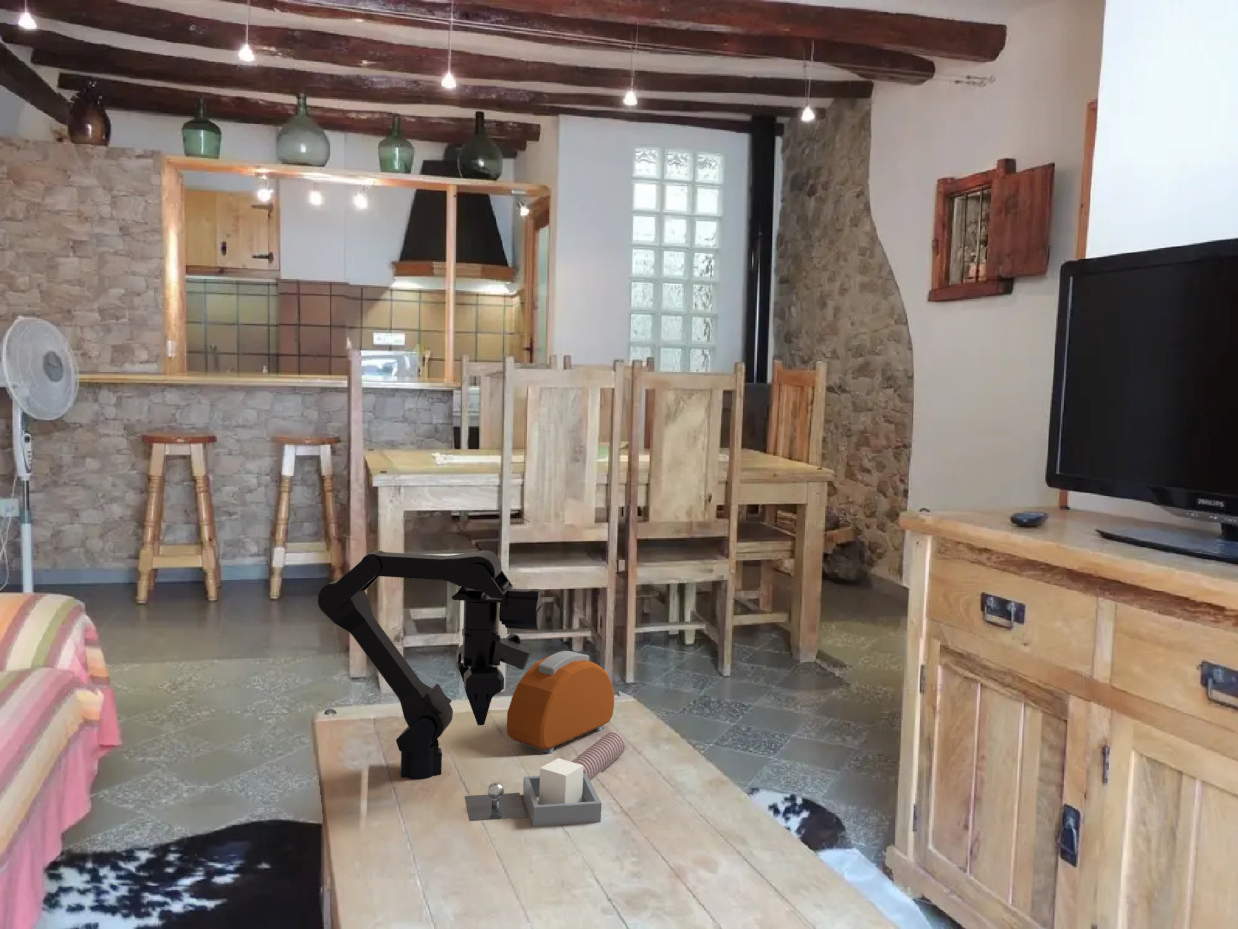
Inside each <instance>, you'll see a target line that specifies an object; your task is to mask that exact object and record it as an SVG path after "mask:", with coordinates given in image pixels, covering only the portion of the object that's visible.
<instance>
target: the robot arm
mask: <svg viewBox="0 0 1238 929" xmlns="http://www.w3.org/2000/svg"><path fill="white" fill-rule="evenodd" d="M379 577H384V578H385V577H386V578H387V577H389V578H403V579H419V580H434V581H435V580H436V581H437V580H438V581H444V582H448V583H450V584H453V585H455V586H458V587H460V588H459V589H458V591H457V592H455V594H453V595H452V596H451V600H453V601H463V626H462V627H463V628H461V636H462V644H461V645H460V646H459V647H458V648H457V649H456V662H457V663H456V664H457V667H458V671H459V673H460V677H461V679H462V682H463V689H464V691H465V694H466V697H467V699H468V702H469V706H470V708H471V710H472V713H473V716H474V718H475V721H476V724H477V726H484V725H485V723H486V720H487V717H488V714H489V709H490V706H491V703H492V699H493V697H495V696H496V695H497V694H499V693H501V692H502V691H503V690H504V689H505V677H504V675H503V671H501V670H500V669H499V668H498V667H497V666H501V663H503V664H506V665H510V666H512V667H513V666H514V667H515V668H516V669H518V670H522V671H524V670H525V668H526V666H527V663H528V660H529V657H530V655H531V651H530V649H529V648H528V646H526V645H525V643H521V638H520V635H518V634H516V633H509V635H507V636H506V637H503V638H501V635H500V634H499V631H498V619H499V622H500V623H501V625H504V627H505V629H516V630H517V629H519V630H535V631H540V629H541V627H542V622H543V620H542V619H543V610H544V609H543V607H544V605H542V604H543V603H542V596H541V589H540V588H529V589H528V588H527V589H526V588H525V589H523V588H514V586H513V584H512V583H511V581H510V579H509V578H508V577H507V575H506V573H505V572H504V571H503V569H502V563H501V560H500V558H499V556H498V555H497V554H496V553H495V552H494V551H490V550H478V551H468V552H463V553H457V554H451V555H439V554H438V555H437V554H424V553H423V554H419V553H402V552H389V551H388V552H386V551H383V550H374V551H372V552H369V553H368V554H366V555H364V556H363V558H361V560H360V561H359V562H358V563H357V564H356V565H355V566H353V567H352V568H351V569H350V570H349V571H347V572H346V573H345V574H343V576H342V577H340V578H337V579H336V580H334V581H332V582H330V583H328V584H325V585H324V586H323V587H322V588H321V589H320V591H319V593H318V595H317V596H318V597H317V607H318V608H319V609H320V611H321V612H322V613H323V614H324V615H325V616H326V617H327V618H328V619H329V621H331V622H332V623H333V624H335V625H336V626H338V627H339V628H341V629H343V630H344V631H346V632H347V633H349V634H350V635H351V636H352V637H353V639H354V640H355V641H356V642H357V644H358V646H359V647H360V648H361V650H362V651H363V652H364V654H365V655H366V657H367V658H368V659H369V661H370V662H371V663H372V664H373V666H374V667H375V669H376V670H377V671H378V672H379V674H380V675H381V677H382V678H383V679H384V680H385V682H386V683H387V685H388V686H389V688H390V689H391V690H392V691H393V693H394V694H395V696H396V697H397V698H398V701H399V703H400V706H401V710H402V715H403V719H404V720H405V723H406V725H407V727H405V729H404V730H403V731H402V732H401V734H399V736H398V737H397V738H396V739H395V743H396V744H397V748H398V751H399V752H400V778H402V779H403V778H406V779H408V780H414V781H415V780H426V779H429V778H432V777H437V776H441V775H442V765H443V753H442V748H441V747H440V744H439V738H440V737H441V736H442V735H443V733H444V731H446V729H447V728H448V727H449V726H450V725H451V723H452V720H453V716H454V715H453V714H454V710H453V707H452V705H451V703H452V699H450V698H449V697H448V696H447V695H446V694H445V693H444V691H443V689H442V687H441V686H440V684H439V683H436V684H434V685H433V687H431V686H429V685H427V684H425V683H424V682H423V681H422V680H421V679H420V678H419V676H418V675H417V674H416V672H415V671H414V670H413V668H412V667H411V666H410V664H409V663H408V661H406V659H405V658H404V655H402V654H401V652H400V651H399V649H398V648H397V646H396V645H395V644H394V642H392V640H391V638H390V637H389V636H388V634H387V633H386V631H385V630H384V629H383V628H382V627H381V625H380V624H379V622H378V621H377V620H376V618H375V616H374V614H373V608H372V605H371V601H370V599H369V597H368V595H367V593H366V591H367V589H368V588H370V586H372V585H373V584H374V583H375V581H376V580H377V579H378V578H379ZM498 606H499V607H498Z"/></svg>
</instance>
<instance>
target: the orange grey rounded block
mask: <svg viewBox="0 0 1238 929" xmlns="http://www.w3.org/2000/svg"><path fill="white" fill-rule="evenodd" d="M614 709H615V690H614V687H613V683H612V680H611V678H610V676H609V674H608V672H607V671H606V670H605V669H604V668H603V667H602V666H601V665H599V664H597V663H595V662H593V661H590V655H587V654H584V653H580V652H576V651H572V650H562V651H558V652H555V653H554V654H552V655H548V656H547V657H544V658H542V659H541V660H538V661H536V662H534V664H533V665H531V667H530V668H529V669H528V670H527V671H525V673H524V674H523V676H522V678H521V679H520V680H519V682H518V683H517V686H516V687H515V690H514V692H513V694H512V696H511V700H510V702H509V707H508V709H507V715H506V733H507V737H509V738H510V739H511V740H512V741H515V742H518V743H520V744H521V745H524V746H526V747H529V748H533V749H535V750H538V751H541V752H544V753H547V754H552V753H553V752H554V749H555V747H556V746H558V745H561V744H564V743H565V742H569V741H570V740H573V739H575V738H577V737H580V736H582V735H584V734H587V733H589V732H591V731H597V732H601V731H603V726H604V725H606V724H608V723H609V722H610V721H611V719H612V718H613V715H614Z"/></svg>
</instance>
